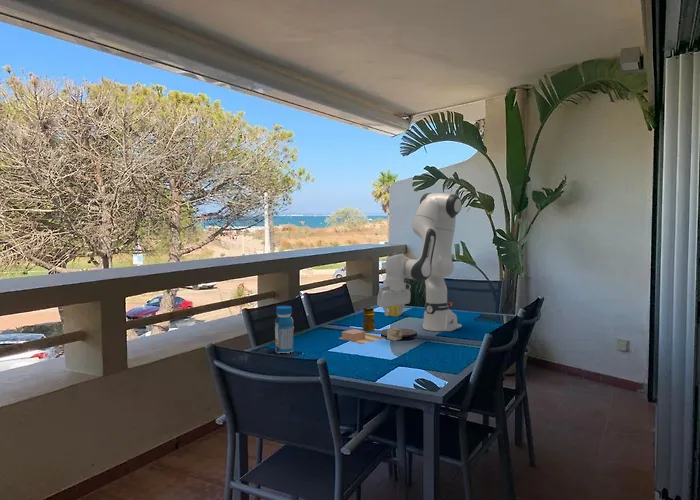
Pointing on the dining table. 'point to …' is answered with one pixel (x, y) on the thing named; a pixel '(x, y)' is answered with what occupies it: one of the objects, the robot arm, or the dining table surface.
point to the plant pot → (394, 310)
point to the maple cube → (394, 334)
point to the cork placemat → (367, 339)
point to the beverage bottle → (284, 330)
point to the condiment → (368, 319)
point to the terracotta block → (353, 335)
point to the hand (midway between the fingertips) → (393, 314)
